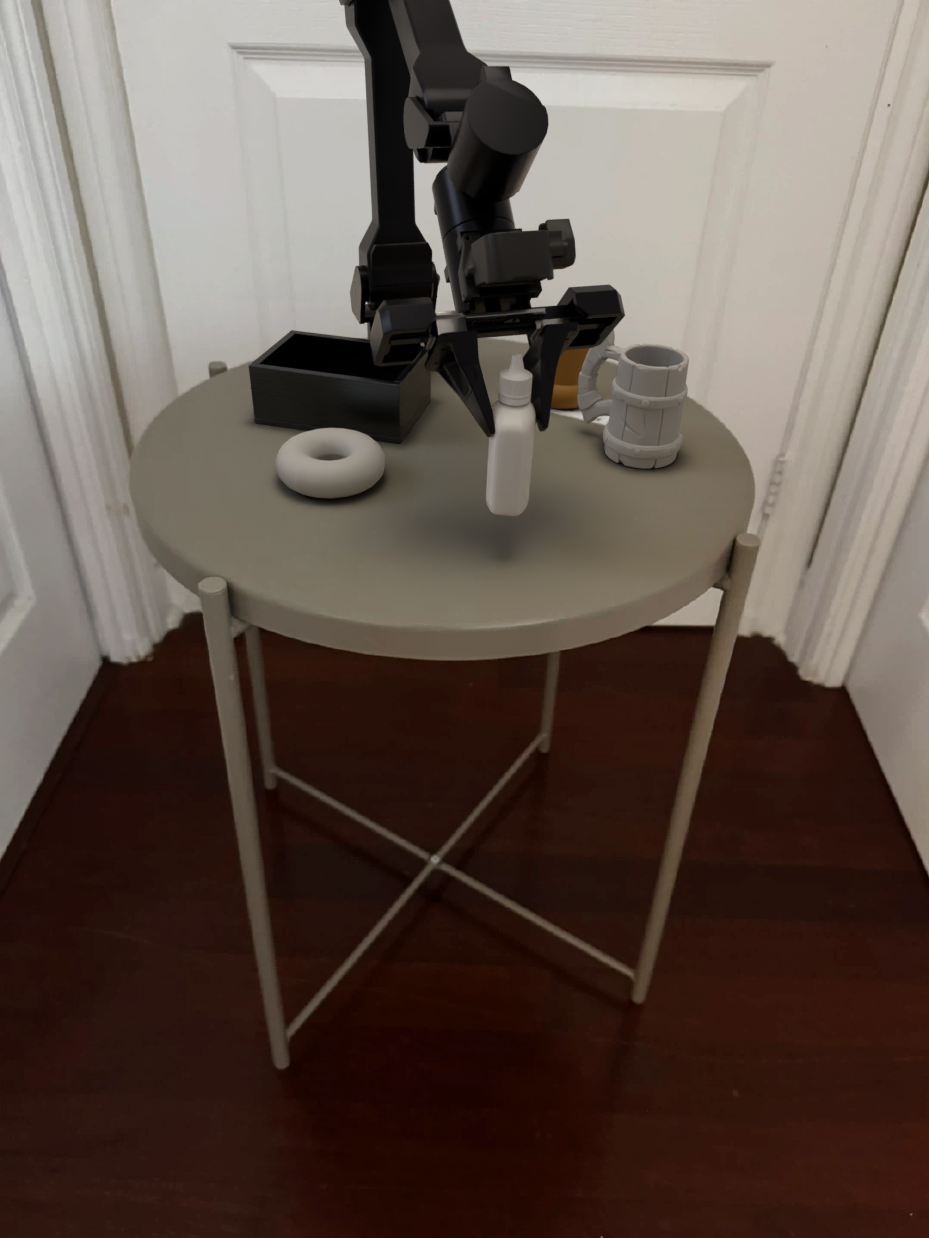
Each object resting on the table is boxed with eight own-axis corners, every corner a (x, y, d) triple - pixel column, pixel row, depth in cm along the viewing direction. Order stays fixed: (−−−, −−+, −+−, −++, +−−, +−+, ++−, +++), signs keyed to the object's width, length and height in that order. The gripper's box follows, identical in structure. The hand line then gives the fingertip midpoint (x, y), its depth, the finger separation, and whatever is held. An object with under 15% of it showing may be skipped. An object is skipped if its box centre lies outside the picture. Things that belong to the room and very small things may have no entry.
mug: (652, 478, 88) (672, 355, 81) (552, 440, 94) (562, 321, 87) (694, 452, 93) (716, 333, 86) (596, 417, 99) (609, 303, 92)
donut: (398, 462, 90) (298, 448, 91) (398, 428, 88) (296, 415, 89) (368, 513, 82) (260, 497, 83) (367, 478, 80) (256, 462, 81)
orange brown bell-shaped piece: (609, 401, 102) (557, 417, 99) (564, 379, 107) (513, 393, 103) (618, 329, 97) (564, 342, 94) (571, 309, 102) (517, 321, 99)
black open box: (296, 384, 104) (291, 330, 100) (431, 402, 101) (431, 347, 97) (254, 423, 96) (248, 365, 92) (400, 444, 93) (399, 385, 89)
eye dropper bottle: (465, 506, 74) (470, 360, 67) (502, 478, 78) (512, 338, 71) (511, 523, 72) (522, 375, 65) (548, 494, 76) (562, 351, 69)
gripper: (373, 179, 62) (415, 405, 60) (632, 169, 66) (677, 379, 65) (354, 266, 72) (389, 459, 71) (578, 252, 77) (616, 433, 75)
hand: (517, 432), depth 70 cm, fingers closed on eye dropper bottle, 4 cm apart
